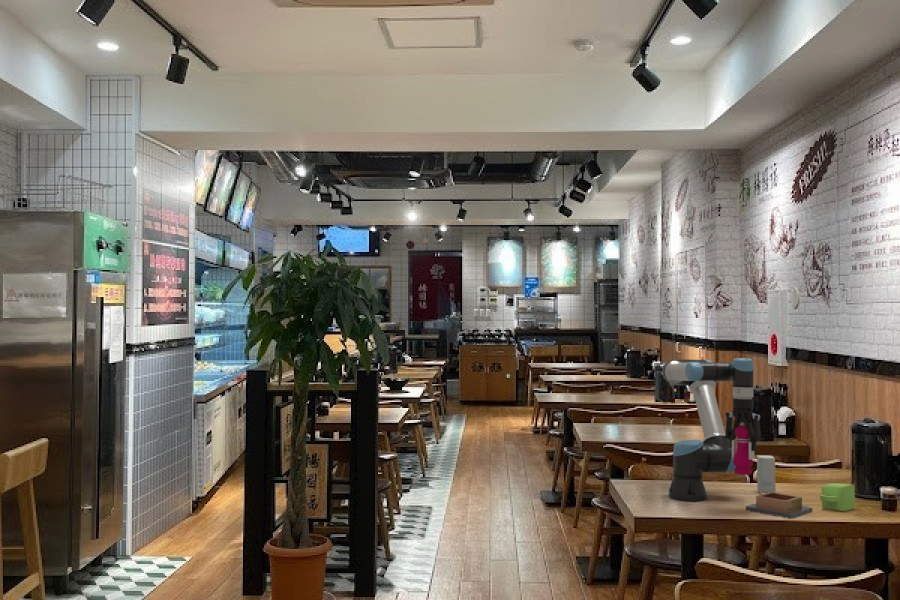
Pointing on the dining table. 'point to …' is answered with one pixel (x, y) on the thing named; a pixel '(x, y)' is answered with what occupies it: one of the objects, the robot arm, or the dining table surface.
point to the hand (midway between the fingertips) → (743, 458)
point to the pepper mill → (742, 451)
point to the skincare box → (766, 474)
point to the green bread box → (838, 496)
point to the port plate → (779, 505)
